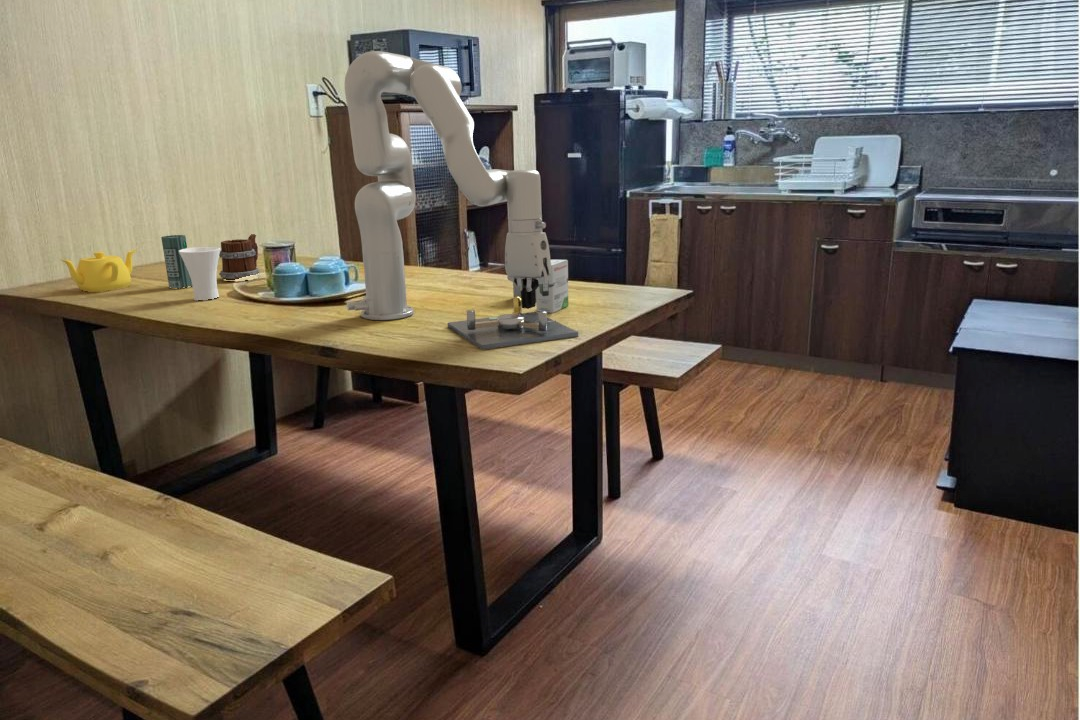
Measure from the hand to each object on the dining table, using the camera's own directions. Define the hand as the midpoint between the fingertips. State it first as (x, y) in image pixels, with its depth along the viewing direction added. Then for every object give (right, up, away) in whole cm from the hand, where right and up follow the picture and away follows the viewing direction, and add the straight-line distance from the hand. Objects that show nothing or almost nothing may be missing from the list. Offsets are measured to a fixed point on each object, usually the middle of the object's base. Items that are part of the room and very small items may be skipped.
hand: (528, 307), depth 179 cm
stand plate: (-4, -6, -6) cm, 9 cm away
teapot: (-126, +9, +53) cm, 136 cm away
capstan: (-4, -4, -5) cm, 7 cm away
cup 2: (0, +4, +27) cm, 27 cm away
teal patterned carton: (-104, +9, +52) cm, 116 cm away
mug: (-90, +13, +65) cm, 112 cm away
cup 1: (-89, +5, +35) cm, 96 cm away
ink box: (+6, 0, +15) cm, 16 cm away
